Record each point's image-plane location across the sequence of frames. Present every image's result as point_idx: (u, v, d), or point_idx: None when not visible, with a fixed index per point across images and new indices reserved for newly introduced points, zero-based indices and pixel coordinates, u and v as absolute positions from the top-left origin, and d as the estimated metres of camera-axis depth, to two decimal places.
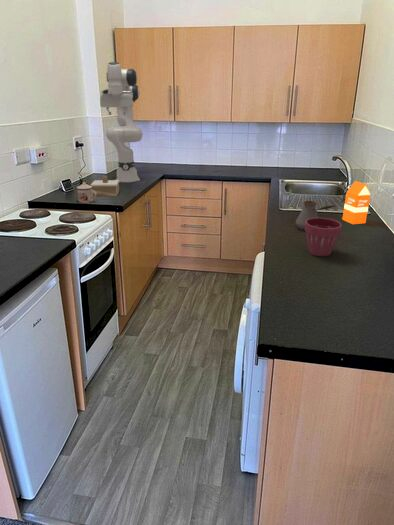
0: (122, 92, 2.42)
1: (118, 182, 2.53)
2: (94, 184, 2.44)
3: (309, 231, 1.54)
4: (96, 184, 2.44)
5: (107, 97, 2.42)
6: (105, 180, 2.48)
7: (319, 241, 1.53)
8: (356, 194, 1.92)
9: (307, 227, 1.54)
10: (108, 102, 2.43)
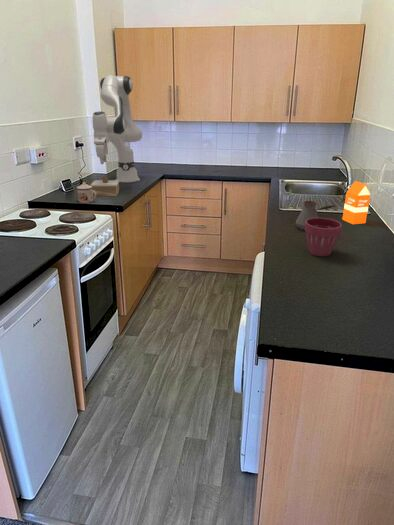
0: None
1: (118, 182, 2.53)
2: (94, 184, 2.44)
3: (309, 231, 1.54)
4: (96, 184, 2.44)
5: (103, 146, 2.36)
6: (105, 180, 2.48)
7: (319, 241, 1.53)
8: (356, 194, 1.92)
9: (307, 227, 1.54)
10: (104, 151, 2.38)
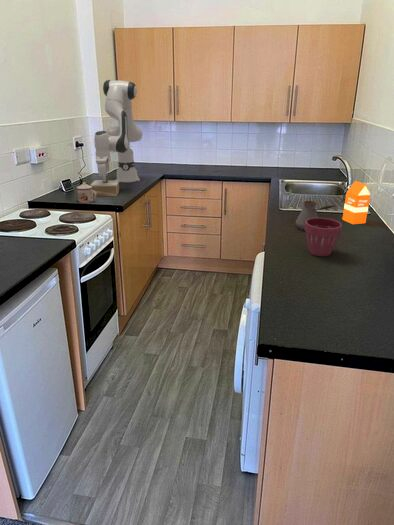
0: None
1: (118, 182, 2.53)
2: (94, 184, 2.44)
3: (309, 231, 1.54)
4: (96, 184, 2.44)
5: (105, 165, 2.41)
6: None
7: (319, 241, 1.53)
8: (356, 194, 1.92)
9: (307, 227, 1.54)
10: (105, 170, 2.42)
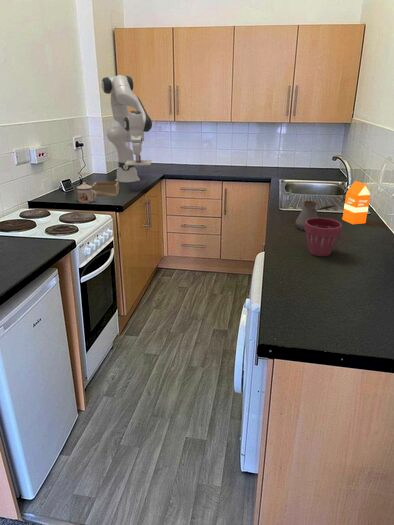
0: None
1: (150, 162, 2.58)
2: (128, 163, 2.49)
3: (309, 231, 1.54)
4: (130, 163, 2.49)
5: None
6: None
7: (319, 241, 1.53)
8: (356, 194, 1.92)
9: (307, 227, 1.54)
10: None
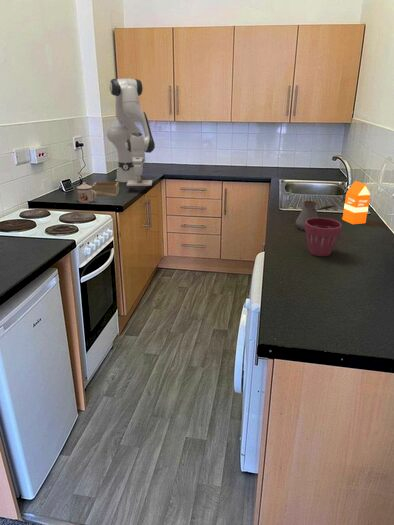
0: None
1: None
2: (130, 184, 2.54)
3: (309, 231, 1.54)
4: (132, 184, 2.54)
5: None
6: None
7: (319, 241, 1.53)
8: (356, 194, 1.92)
9: (307, 227, 1.54)
10: (141, 170, 2.52)
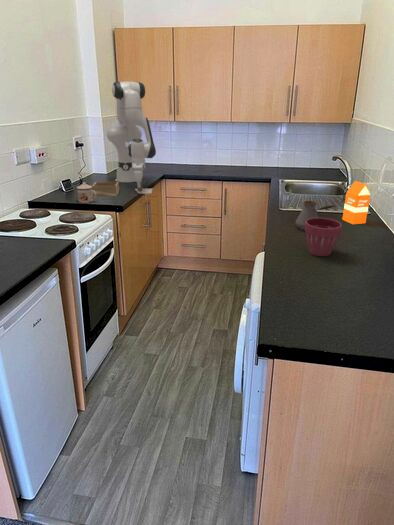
0: None
1: None
2: None
3: (309, 231, 1.54)
4: None
5: None
6: (140, 189, 2.60)
7: (319, 241, 1.53)
8: (356, 194, 1.92)
9: (307, 227, 1.54)
10: (141, 176, 2.54)
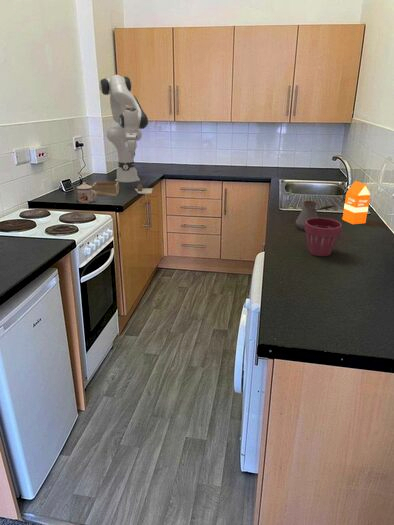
0: None
1: None
2: None
3: (309, 231, 1.54)
4: None
5: None
6: (140, 189, 2.60)
7: (319, 241, 1.53)
8: (356, 194, 1.92)
9: (307, 227, 1.54)
10: None
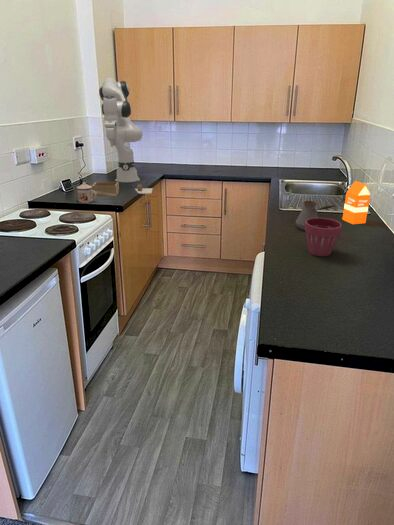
0: None
1: None
2: None
3: (309, 231, 1.54)
4: None
5: None
6: (140, 189, 2.60)
7: (319, 241, 1.53)
8: (356, 194, 1.92)
9: (307, 227, 1.54)
10: (114, 134, 2.47)
